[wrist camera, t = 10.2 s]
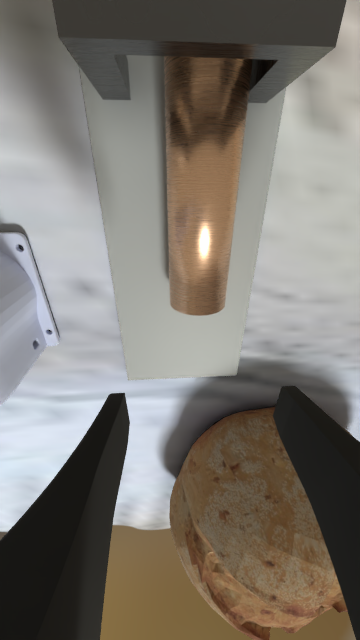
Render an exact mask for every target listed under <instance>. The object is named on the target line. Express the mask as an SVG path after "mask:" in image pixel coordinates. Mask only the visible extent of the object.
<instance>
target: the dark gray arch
mask: <svg viewBox="0 0 360 640" xmlns="http://www.w3.org/2000/svg"><path fill="white" fill-rule="evenodd" d="M52 2H53V7H54V13H55V19H56V24H57V30H58V35H59V38H60V40H61V41H62V42H63V44H64V45H65V47H66V48H67V49H68V51H69V52H70V54H71V55H72V57H73V58H74V59H75V61H76V62H77V64H78V65H79V67H80V68H81V69H82V71H83V72H84V74H85V75H86V76H87V78H88V79H89V81H90V82H91V84H92V85H93V86H94V88H95V89H96V91H97V92H98V93H99V95H100V96H101V98H102V99H103V100H131V94H130V82H129V69H128V60H127V56H126V55H140V56H171V57H203V58H234V59H253V63H252V72H251V81H250V89H249V98H248V103H267V102H268V101H269V100H271V99H272V98H273V97H274V96H276V95H277V94H278V93H279V92H280V91H282V90H283V89H284V88H285V87H287V86H288V85H289V84H290V83H292V82H293V81H294V80H295V79H297V78H298V77H299V76H300V75H301V74H303V73H304V72H305V71H306V70H308V69H309V68H310V67H311V66H313V65H314V64H315V63H316V62H318V61H319V60H320V59H321V58H322V57H324V56H325V55H326V54H327V53H329V52H330V51H331V50H332V49H334V48H335V46H336V42H337V38H338V34H339V30H340V25H341V21H342V17H343V13H344V8H345V4H346V0H52Z"/></svg>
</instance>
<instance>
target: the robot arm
mask: <svg viewBox="0 0 360 640" xmlns="http://www.w3.org/2000/svg"><path fill="white" fill-rule="evenodd" d="M19 244H20V245H22V246H23V248H24V251H23V250H21V249H20V248H19ZM48 330H51V331H52V332H50V331H48ZM59 342H60V338H59V335H58V332H57V329H56V326H55V323H54V320H53V317H52V314H51V311H50V308H49V305H48V302H47V299H46V295H45V292H44V289H43V286H42V283H41V280H40V277H39V274H38V271H37V268H36V265H35V262H34V259H33V256H32V253H31V249H30V246H29V243H28V240H27V238H26V236H25V235H24V234H22V233H19V232H0V405H2V404H3V403H4V402H5V401H6V400H7V399H8V398H9V397H10V396H11V395H12V393H13V392H14V391H15V389H16V388H17V387H18V385H19V384H20V382H21V381H22V380H23V378H24V377H25V376H26V374H27V373H28V371H29V370H30V369H31V367H32V366H33V365H34V363H35V362H36V361H37V359H38V358H39V356H40V355H41V354H42V352H43V351H44V350H45V348H46V347H47V346H56V345H58V343H59ZM273 418H274V421H275V424H276V427H277V430H278V433H279V436H280V439H281V441H282V443H283V445H284V447H285V449H286V452H287V454H288V456H289V458H290V460H291V462H292V464H293V467H294V469H295V471H296V473H297V475H298V477H299V479H300V481H301V484H302V486H303V488H304V490H305V492H306V494H307V497H308V499H309V501H310V504H311V506H312V509H313V511H314V514H315V517H316V519H317V522H318V525H319V527H320V530H321V533H322V536H323V538H324V541H325V544H326V547H327V550H328V553H329V555H330V558H331V561H332V564H333V567H334V570H335V573H336V576H337V579H338V582H339V585H340V588H341V591H342V594H343V598H344V601H345V604H346V607H347V611H348V614H349V617H350V620H351V624H352V627H353V630H354V634H355V637H356V640H360V442H359V441H358V440H356V439H355V438H354V437H353V436H352V435H350V434H349V433H348V432H347V431H346V430H344V429H343V428H342V427H341V426H340V425H338V424H337V423H336V422H335V421H334V420H333V419H331V418H330V417H329V416H328V415H327V414H326V413H325V412H324V411H322V410H321V409H320V408H319V407H318V406H317V405H316V404H315V403H313V402H312V401H311V400H310V399H309V398H308V397H307V396H306V395H305V394H303V393H302V392H301V391H300V390H299V389H298V388H297V387H295V386H283V387H282V388H281V391H280V394H279V397H278V400H277V404H276V407H275V410H274V413H273ZM129 424H130V421H129V415H128V410H127V404H126V398H125V393H113V394H110V395H109V396H108V398H107V400H106V401H105V403H104V405H103V407H102V409H101V410H100V412H99V414H98V415H97V417H96V419H95V420H94V422H93V423H92V425H91V427H90V428H89V430H88V431H87V433H86V434H85V436H84V437H83V439H82V440H81V442H80V443H79V445H78V446H77V448H76V449H75V450H74V452H73V453H72V455H71V456H70V457H69V459H68V460H67V462H66V463H65V464H64V466H63V467H62V468H61V470H60V471H59V472H58V474H57V475H56V476H55V478H54V479H53V480H52V481H51V483H50V484H49V485H48V486H47V488H46V489H45V490H44V491H43V492H42V494H41V495H40V496H39V497H38V498H37V500H36V501H35V502H34V503H33V504H32V505H31V507H30V508H29V509H28V510H27V511H26V512H25V514H24V515H23V516H22V517H21V518H20V519H19V520H18V522H17V523H16V524H15V525H14V526H13V527H12V528H11V529H10V530H9V532H8V533H7V534H6V535H5V536H4V537H3V538H2V539H1V540H0V640H100V632H101V622H102V612H103V603H104V593H105V583H106V574H107V565H108V557H109V548H110V540H111V532H112V524H113V517H114V511H115V505H116V500H117V495H118V490H119V485H120V480H121V475H122V470H123V465H124V460H125V455H126V450H127V444H128V435H129Z"/></svg>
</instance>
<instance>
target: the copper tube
mask: <svg viewBox="0 0 360 640" xmlns="http://www.w3.org/2000/svg"><path fill="white" fill-rule="evenodd" d="M252 63H253V59H234V58H203V57H171V56H164V78H165V120H166V162H167V204H168V246H169V288H170V305H171V307H172V308H173V309H174V310H176V311H178V312H180V313H183V314H187V315H195V316H204V315H211V314H215V313H217V312H219V311H221V310H222V309H223V308H224V307H225V301H226V292H227V283H228V274H229V265H230V257H231V248H232V239H233V230H234V221H235V213H236V204H237V195H238V186H239V177H240V169H241V160H242V151H243V142H244V133H245V125H246V116H247V107H248V98H249V89H250V81H251V72H252Z"/></svg>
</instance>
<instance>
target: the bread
mask: <svg viewBox="0 0 360 640" xmlns="http://www.w3.org/2000/svg"><path fill="white" fill-rule="evenodd" d="M275 407H276V406H275ZM275 407H269V408H264V409H254V410H248V411H243V412H238V413H235V414H232V415H229V416H227V417H224V418H223V419H221V420H220V421H218V422H217V423H215V424H214V425H213V426H211V427H210V428H209V429H207V430H206V431H205V432H204V433H203V434H202V435H201V436H200V437H199V438H198V439H197V441H196V442H195V443H194V444H193V445H192V447H191V449H190V451H189V453H188V455H187V457H186V459H185V461H184V463H183V465H182V468H181V471H180V473H179V475H178V477H177V479H176V481H175V484H174V486H173V490H172V494H171V499H170V526H171V532H172V536H173V539H174V542H175V546H176V549H177V551H178V554H179V557H180V559H181V562H182V564H183V566H184V569H185V571H186V573H187V575H188V577H189V579H190V581H191V582H192V583H193V585H194V586H195V587H196V589H197V590H198V592H199V593H200V594H201V596H202V597H203V598H204V599H205V600H206V601H207V603H208V604H209V605H210V606H211V608H212V609H214V610H215V611H216V612H217V613H218V614H219V615H220V616H222V617H223V618H224V619H225V620H226V621H227V622H228V623H230V624H231V625H232V626H233V627H234V628H235V629H237V630H239V631H240V632H242V633H244V634H246V635H247V636H249V637H250V638H252V639H253V640H269V638H270V632H269V631H270V629H271V627H281V628H282V629H283V630H284V631H286V632H287V633H295V632H297V631H298V630H299V629H300V628H301V627H303V626H305V625H307V624H309V623H310V622H311V621H312V620H313V619H314V618H316V617H318V616H319V615H320V614H322V613H324V612H326V611H327V610H329V609H331V608H332V607H334V608H335V609H336V610H337V611H338V612H343V611H346V612H348V611H347V607H346V604H345V601H344V598H343V594H342V591H341V588H340V585H339V582H338V579H337V576H336V573H335V570H334V567H333V564H332V561H331V558H330V555H329V553H328V550H327V547H326V544H325V541H324V538H323V536H322V533H321V530H320V527H319V525H318V522H317V519H316V517H315V514H314V511H313V509H312V506H311V504H310V501H309V499H308V497H307V494H306V492H305V490H304V488H303V486H302V484H301V481H300V479H299V477H298V475H297V473H296V471H295V469H294V467H293V464H292V462H291V460H290V458H289V456H288V454H287V452H286V449H285V447H284V445H283V443H282V441H281V439H280V436H279V433H278V430H277V427H276V424H275V421H274V418H273V413H274V410H275ZM343 429H344V428H343ZM344 430H345V429H344ZM346 431H347V430H346ZM347 432H348V431H347ZM348 433H349V432H348ZM349 434H350V433H349ZM350 435H351V434H350Z"/></svg>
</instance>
